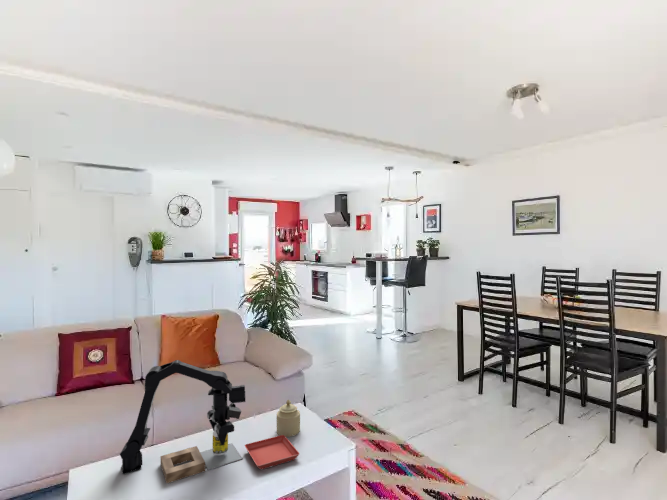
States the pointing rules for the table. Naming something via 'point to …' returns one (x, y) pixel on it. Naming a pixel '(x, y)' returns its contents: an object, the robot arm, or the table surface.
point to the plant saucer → (272, 451)
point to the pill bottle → (219, 444)
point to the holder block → (186, 469)
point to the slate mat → (220, 457)
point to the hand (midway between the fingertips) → (220, 441)
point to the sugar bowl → (288, 420)
